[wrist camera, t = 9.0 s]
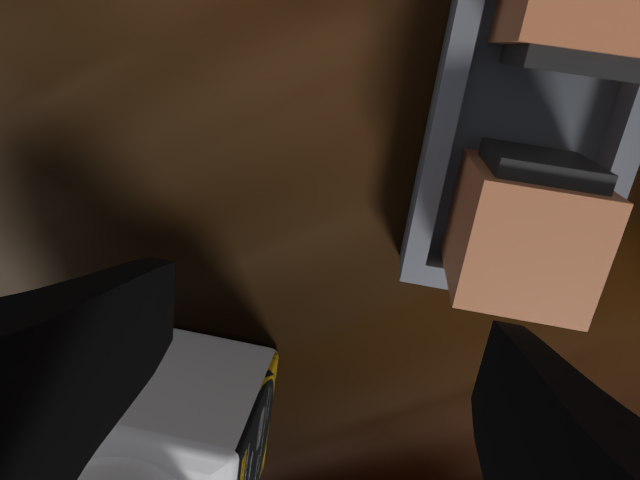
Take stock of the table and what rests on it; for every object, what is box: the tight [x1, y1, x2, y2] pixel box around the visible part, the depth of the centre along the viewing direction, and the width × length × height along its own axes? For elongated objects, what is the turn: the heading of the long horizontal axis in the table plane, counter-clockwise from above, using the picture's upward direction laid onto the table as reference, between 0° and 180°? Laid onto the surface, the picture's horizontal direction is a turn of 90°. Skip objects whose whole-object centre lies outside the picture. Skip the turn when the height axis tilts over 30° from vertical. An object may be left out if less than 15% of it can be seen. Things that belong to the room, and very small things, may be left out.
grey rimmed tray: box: [400, 0, 640, 332], centre depth 16 cm, size 14×7×6 cm, turn 172°
